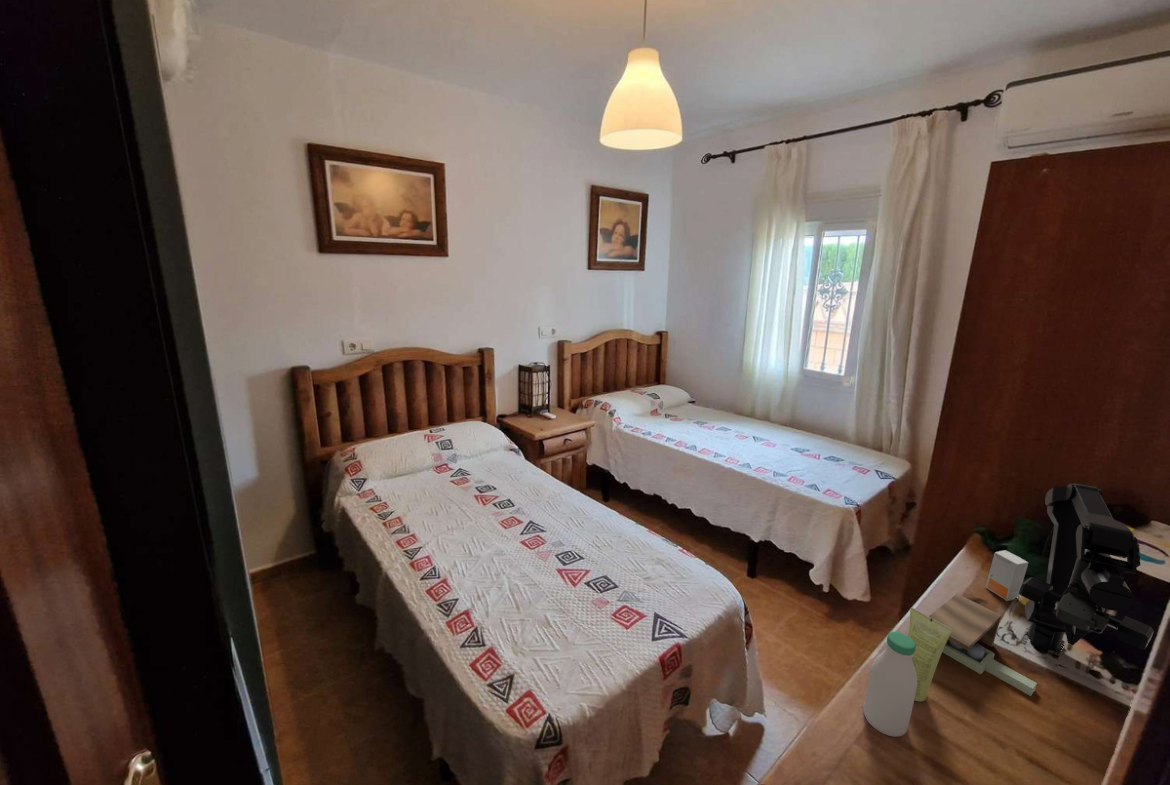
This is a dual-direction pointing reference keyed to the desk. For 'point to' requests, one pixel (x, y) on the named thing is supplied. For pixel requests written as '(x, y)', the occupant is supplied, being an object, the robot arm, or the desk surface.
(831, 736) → the desk surface
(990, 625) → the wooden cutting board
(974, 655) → the grey rounded lump
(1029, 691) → the tray
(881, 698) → the milk bottle
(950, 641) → the grey rounded lump
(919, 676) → the tube
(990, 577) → the skincare box
